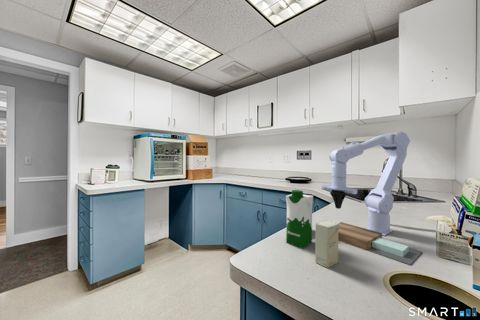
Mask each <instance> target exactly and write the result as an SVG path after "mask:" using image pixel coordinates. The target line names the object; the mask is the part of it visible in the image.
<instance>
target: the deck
mask: <svg viewBox="0 0 480 320" xmlns="http://www.w3.org/2000/svg"><path fill="white" fill-rule="evenodd" d="M338 224H339V225H338V242H342V243H344V244H346V245H351V246H353V247H356V248H359V249H362V250H366V251H369V249H370V250H371V249H372V248H373V247H372V241H374V240H376V239H377V238H382V239H383V235H382V233H380V232H376V231H373V230H369V229H365V227H362V226H361V227H360V226H357V225H353V224H349V223H346V222H341V221H340V222H339V223H338Z"/></svg>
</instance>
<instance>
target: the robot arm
mask: <svg viewBox="0 0 480 320" xmlns="http://www.w3.org/2000/svg"><path fill="white" fill-rule="evenodd" d="M410 142H411V140H410V138H409V136H408V134H407V133H406V132H404V131H398V132H391V133H383V134H381V135H376V136H374V137H373V138H370V139H368V140H366V141H363V142H358V141H357V142H356V141H352V142H350V143H349V145H346V146H341V147H340V148H339V149H333V150H332V151H331V153H330V154H329V156H328V159H329V160H330V161H331V185H329V184H323V185H321V190H322V191H323V190H327V191H330V192H329V194H330V196H331V197H332V200H333V203H334V206H335V209H337V210H340V209H341V208H342V205H343V202H344V200H345V197H346V196H347V195H348V194H352V195H357V194H358V189H357V188H352V187H347V163H348V162H349V160H351V159H354V158H356V157H358V156H361V155H363V153H364V151H366V150H369V149H371V148H375V147H377V146H380V147H381V148H382V149H383V150H384V151H385V152H386V153H387V154H388V155H389V158H388V160H387V162H386V165H385V166H384V169H383V170H382V173H381V176H380V178H379V180H378V183H377V185H376V187H375V188H374V189H372V190H370V192H369V193H368V195H366V197H364V204H365V206H366V207H367V211H368V213H367V215H368V216H367V227H366V228H365V227H364V228H365V229H369V230H373V231H376V232H380V233H382V236H387V235H388V234H390V233H392V232H393V229H391V216H390V212H391V211H392V210H393V207H394V201H395V198H394V196H393V195H392V193H391V192H392V190H393V188H394V185H395V183H396V181H397V179H398V176H399V174H400V172H401V169H402V167H403V165H404V163H405V160H406V158H407V153H408V152H407V151H408V147H409V145H410Z"/></svg>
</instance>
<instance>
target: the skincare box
mask: <svg viewBox="0 0 480 320" xmlns="http://www.w3.org/2000/svg"><path fill="white" fill-rule="evenodd" d="M338 225H339V224H338V223H337V222H333V221H329V220H324V221H319V222H317V223H315V253H314V254H315V259H314V262H315V263H316V264H319V265H321V266H322V267H325V268H331V267H332V266H334V265H336V264H338V263H339V241H338Z"/></svg>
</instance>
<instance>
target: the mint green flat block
mask: <svg viewBox="0 0 480 320" xmlns="http://www.w3.org/2000/svg"><path fill="white" fill-rule="evenodd" d="M371 248H377V249H380V250H383V251H386V252H389V253H392V254H395V255H398V256H401V257H404V256H405V255H406V254H407V253H408V252H409V248H410V247H409V245H406V244H402V243H399V242H395V241H393V240H388V239H385V238H383V237H382V238H377V239H376V240H374V241H372V247H371Z"/></svg>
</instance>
